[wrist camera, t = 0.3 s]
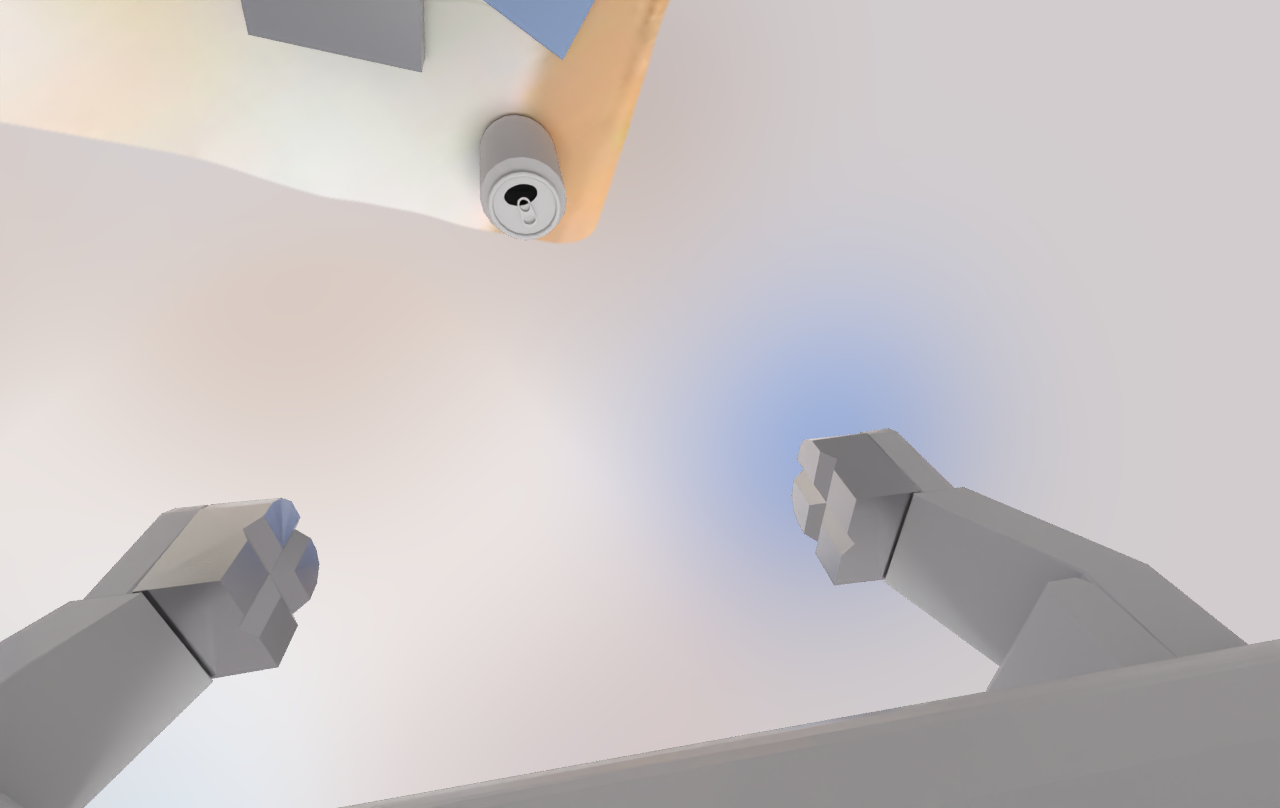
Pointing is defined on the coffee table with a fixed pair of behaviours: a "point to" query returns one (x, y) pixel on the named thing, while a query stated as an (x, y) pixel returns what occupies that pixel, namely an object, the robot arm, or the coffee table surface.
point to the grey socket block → (345, 27)
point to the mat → (546, 19)
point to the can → (520, 178)
